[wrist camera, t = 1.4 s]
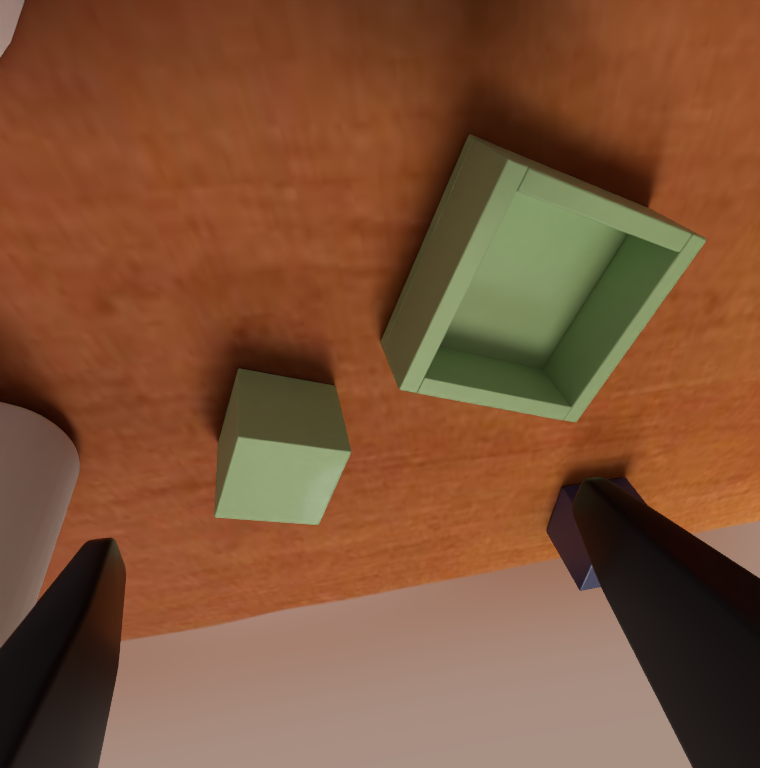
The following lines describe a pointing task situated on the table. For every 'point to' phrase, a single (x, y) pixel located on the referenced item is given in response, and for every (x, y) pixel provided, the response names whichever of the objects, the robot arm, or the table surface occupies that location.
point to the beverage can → (30, 506)
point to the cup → (8, 21)
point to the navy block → (576, 535)
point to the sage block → (279, 449)
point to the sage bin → (529, 286)
